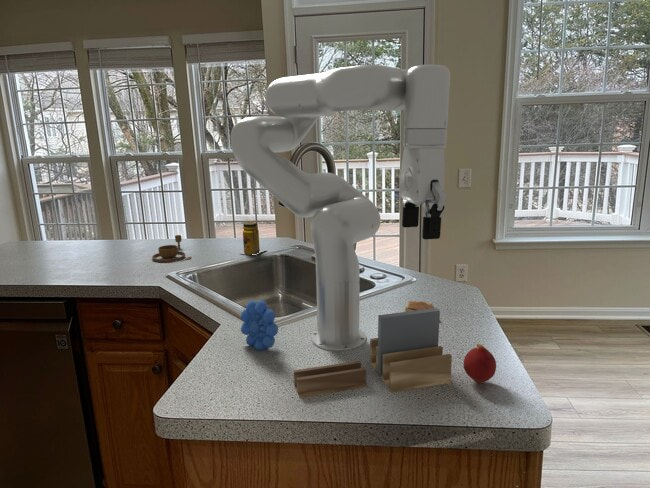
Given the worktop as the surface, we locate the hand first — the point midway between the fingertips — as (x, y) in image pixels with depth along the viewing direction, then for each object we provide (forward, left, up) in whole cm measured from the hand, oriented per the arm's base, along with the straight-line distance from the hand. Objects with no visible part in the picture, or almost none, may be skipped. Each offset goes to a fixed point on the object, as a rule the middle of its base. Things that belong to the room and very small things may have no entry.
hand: (420, 232), depth 87 cm
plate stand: (+2, -19, -28) cm, 34 cm away
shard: (-26, +16, -29) cm, 41 cm away
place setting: (-104, -51, -29) cm, 119 cm away
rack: (+2, -3, -28) cm, 28 cm away
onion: (+9, +9, -28) cm, 31 cm away
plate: (+2, -3, -27) cm, 27 cm away
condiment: (-99, -22, -28) cm, 105 cm away
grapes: (-16, -29, -28) cm, 44 cm away
